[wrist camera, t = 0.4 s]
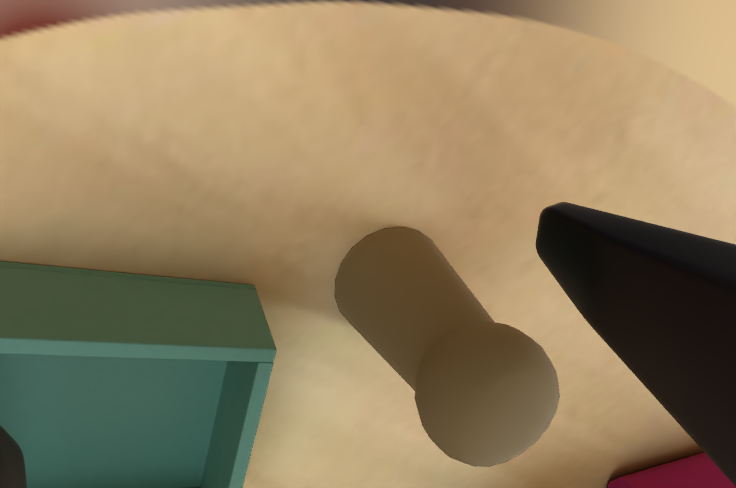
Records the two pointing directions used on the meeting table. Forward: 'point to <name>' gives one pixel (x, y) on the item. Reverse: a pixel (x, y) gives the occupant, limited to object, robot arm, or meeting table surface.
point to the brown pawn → (447, 348)
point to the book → (677, 475)
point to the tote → (131, 377)
